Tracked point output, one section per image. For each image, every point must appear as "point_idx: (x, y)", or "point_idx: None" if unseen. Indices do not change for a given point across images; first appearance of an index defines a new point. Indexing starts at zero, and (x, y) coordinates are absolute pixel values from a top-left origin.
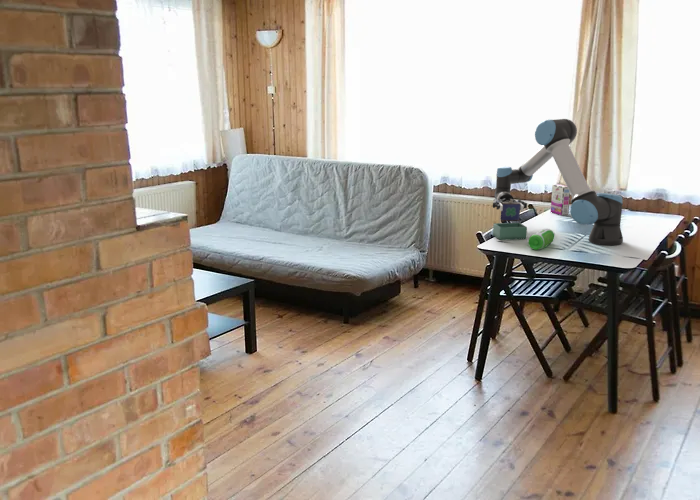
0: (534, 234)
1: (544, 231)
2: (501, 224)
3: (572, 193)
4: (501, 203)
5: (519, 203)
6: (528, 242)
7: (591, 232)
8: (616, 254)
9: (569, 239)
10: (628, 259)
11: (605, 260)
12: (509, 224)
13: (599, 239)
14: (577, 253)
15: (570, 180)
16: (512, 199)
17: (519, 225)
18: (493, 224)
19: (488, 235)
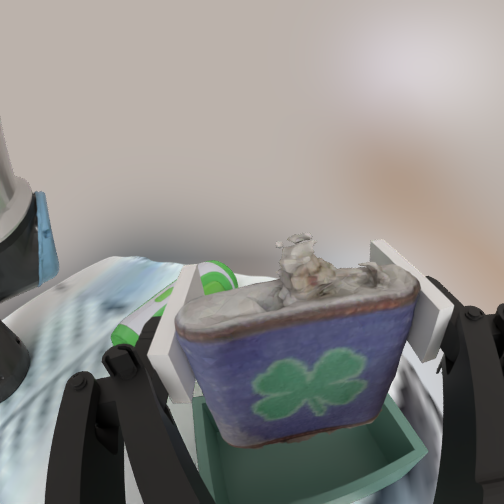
0: (214, 265)
1: (163, 291)
2: (369, 475)
3: (12, 185)
4: (417, 286)
5: (194, 300)
6: (237, 285)
7: (3, 358)
8: (65, 298)
9: (46, 414)
10: (74, 280)
11: (111, 271)
12: (303, 501)
13: (21, 343)
14: (127, 296)
15: (2, 131)
16: (283, 257)
17: (219, 502)
18: (425, 454)
19: (421, 463)
